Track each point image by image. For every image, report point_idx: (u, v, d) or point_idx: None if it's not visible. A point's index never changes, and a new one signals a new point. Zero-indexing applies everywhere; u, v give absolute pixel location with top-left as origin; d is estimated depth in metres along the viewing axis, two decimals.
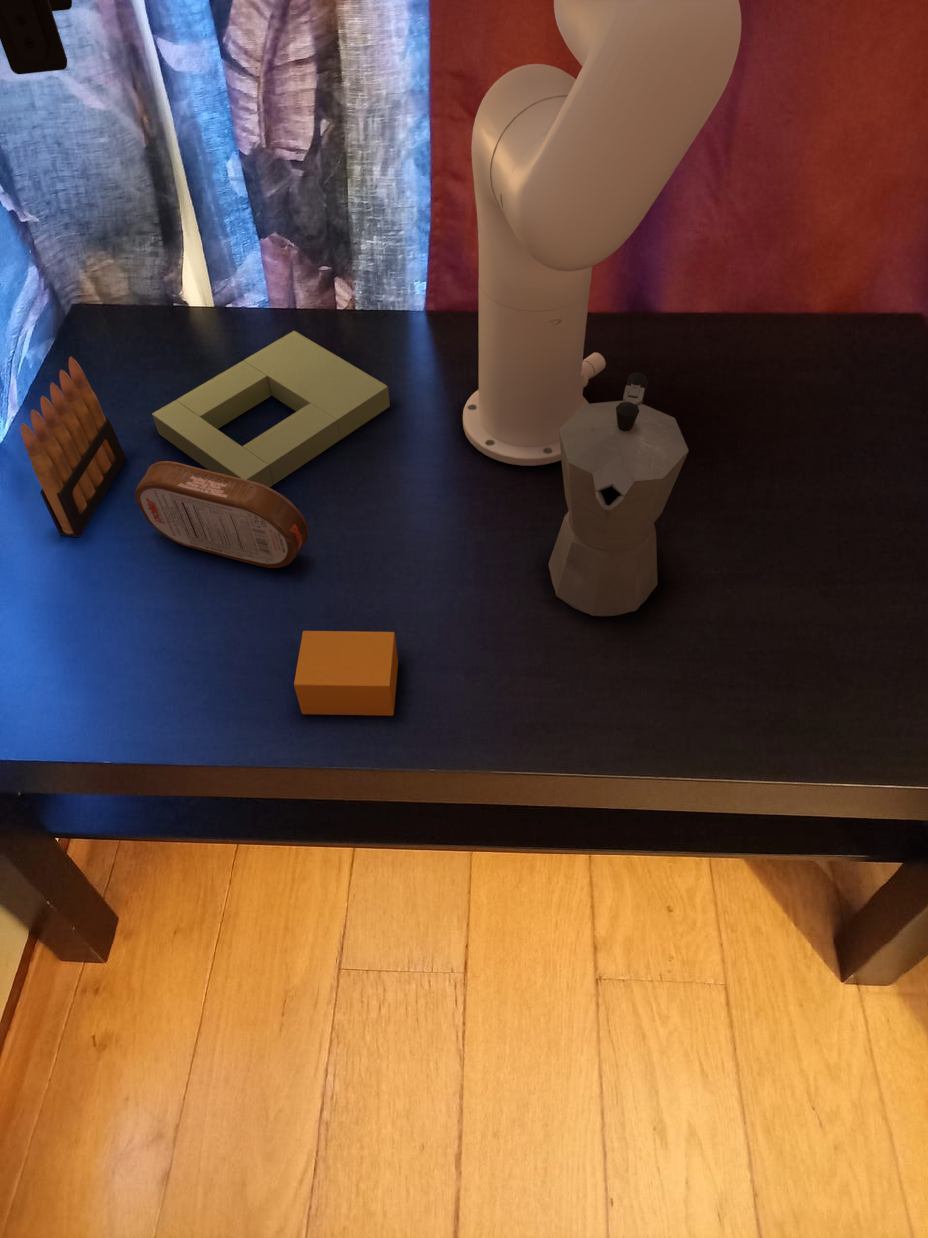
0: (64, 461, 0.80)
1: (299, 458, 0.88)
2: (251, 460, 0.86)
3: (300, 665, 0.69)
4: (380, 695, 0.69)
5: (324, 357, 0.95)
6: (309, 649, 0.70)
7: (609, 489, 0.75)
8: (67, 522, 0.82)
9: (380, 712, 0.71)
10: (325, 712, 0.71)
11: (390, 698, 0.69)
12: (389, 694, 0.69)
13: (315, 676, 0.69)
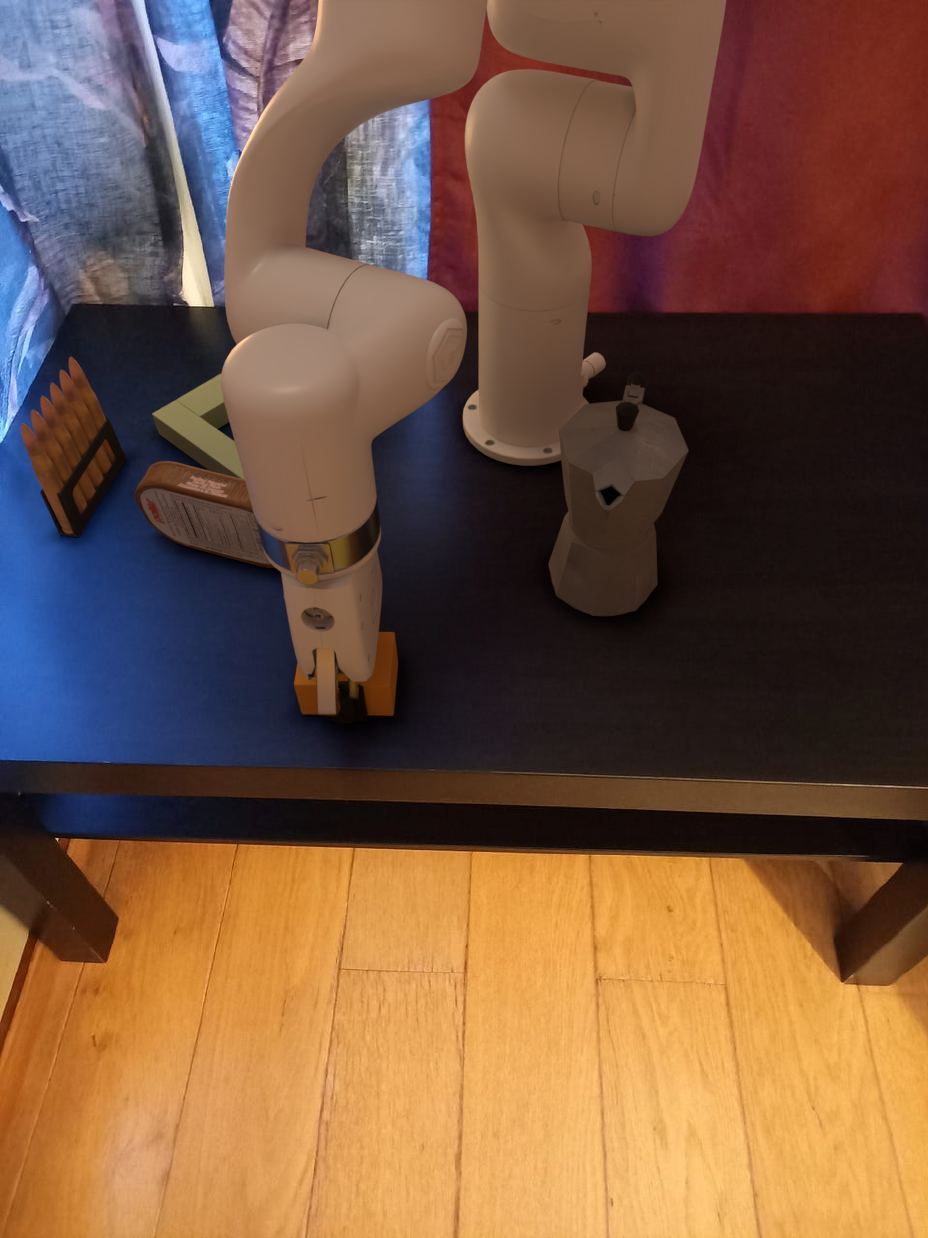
0: (64, 461, 0.80)
1: None
2: None
3: None
4: (380, 696, 0.69)
5: None
6: None
7: (609, 489, 0.75)
8: (67, 522, 0.82)
9: (380, 712, 0.71)
10: None
11: (390, 698, 0.69)
12: (389, 694, 0.69)
13: (315, 676, 0.69)
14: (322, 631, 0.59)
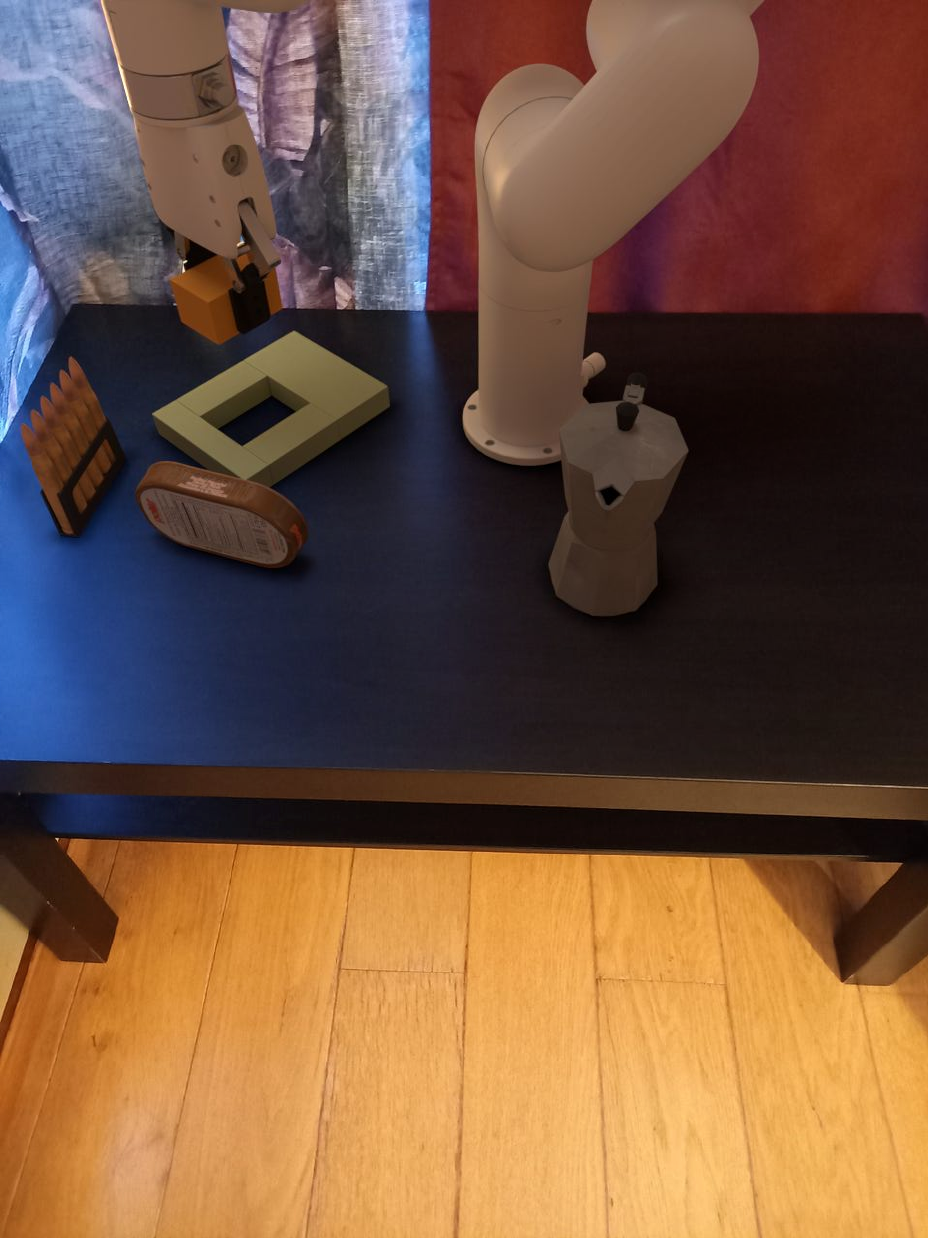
0: (64, 461, 0.80)
1: (299, 458, 0.88)
2: (251, 460, 0.86)
3: (197, 292, 0.75)
4: (271, 283, 0.78)
5: (324, 357, 0.95)
6: (190, 283, 0.76)
7: (609, 489, 0.75)
8: (67, 522, 0.82)
9: (273, 309, 0.79)
10: (235, 331, 0.78)
11: (277, 284, 0.78)
12: (276, 278, 0.78)
13: (217, 290, 0.75)
14: (241, 175, 0.67)
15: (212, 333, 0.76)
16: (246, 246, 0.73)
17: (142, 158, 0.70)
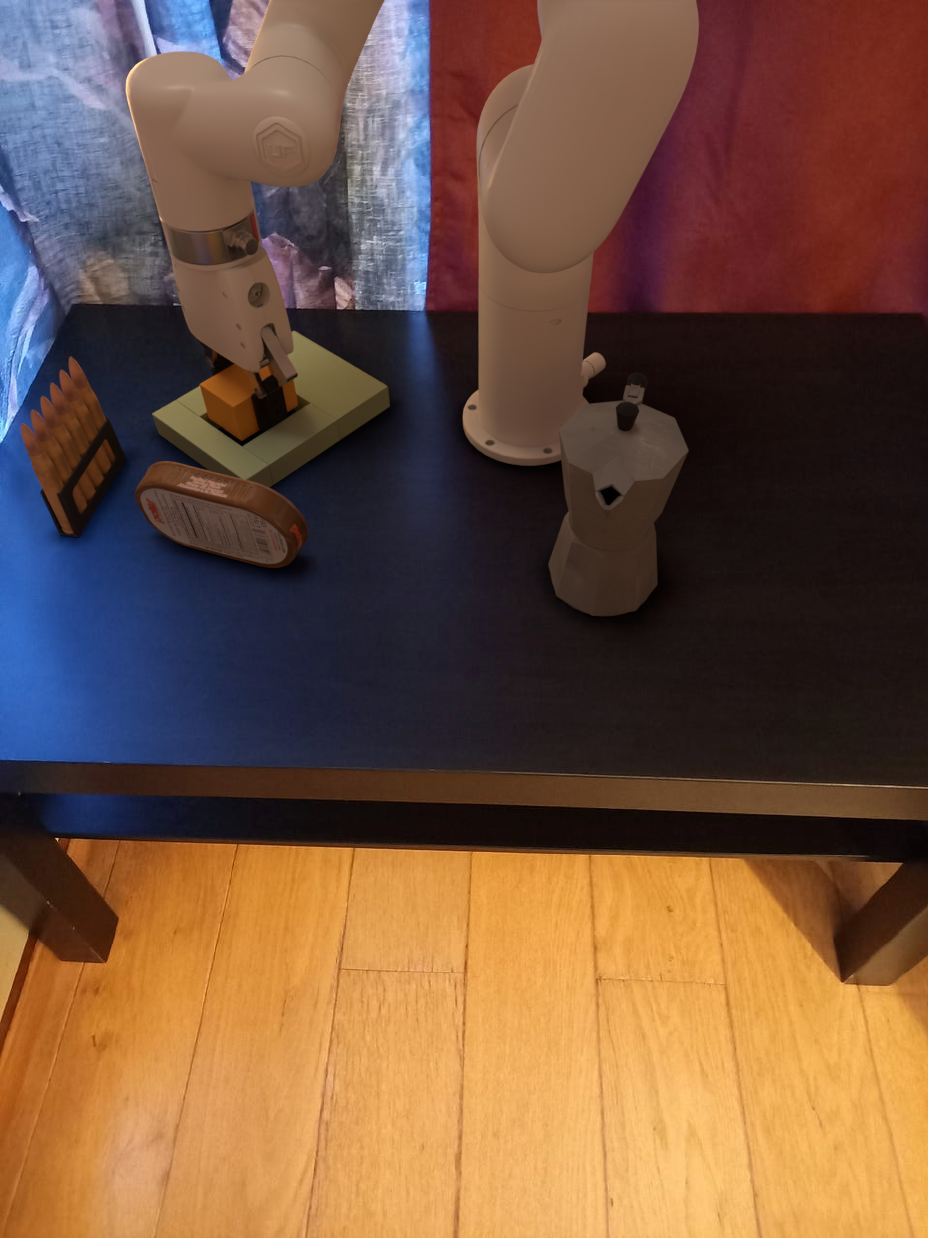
0: (64, 461, 0.80)
1: (299, 458, 0.88)
2: (251, 460, 0.86)
3: (223, 397, 0.85)
4: (288, 386, 0.88)
5: (324, 357, 0.95)
6: (217, 388, 0.86)
7: (609, 489, 0.75)
8: (67, 522, 0.82)
9: (290, 407, 0.90)
10: (256, 428, 0.88)
11: (294, 386, 0.89)
12: (293, 381, 0.88)
13: (241, 395, 0.85)
14: (263, 306, 0.78)
15: (236, 431, 0.87)
16: (267, 359, 0.83)
17: (177, 286, 0.81)
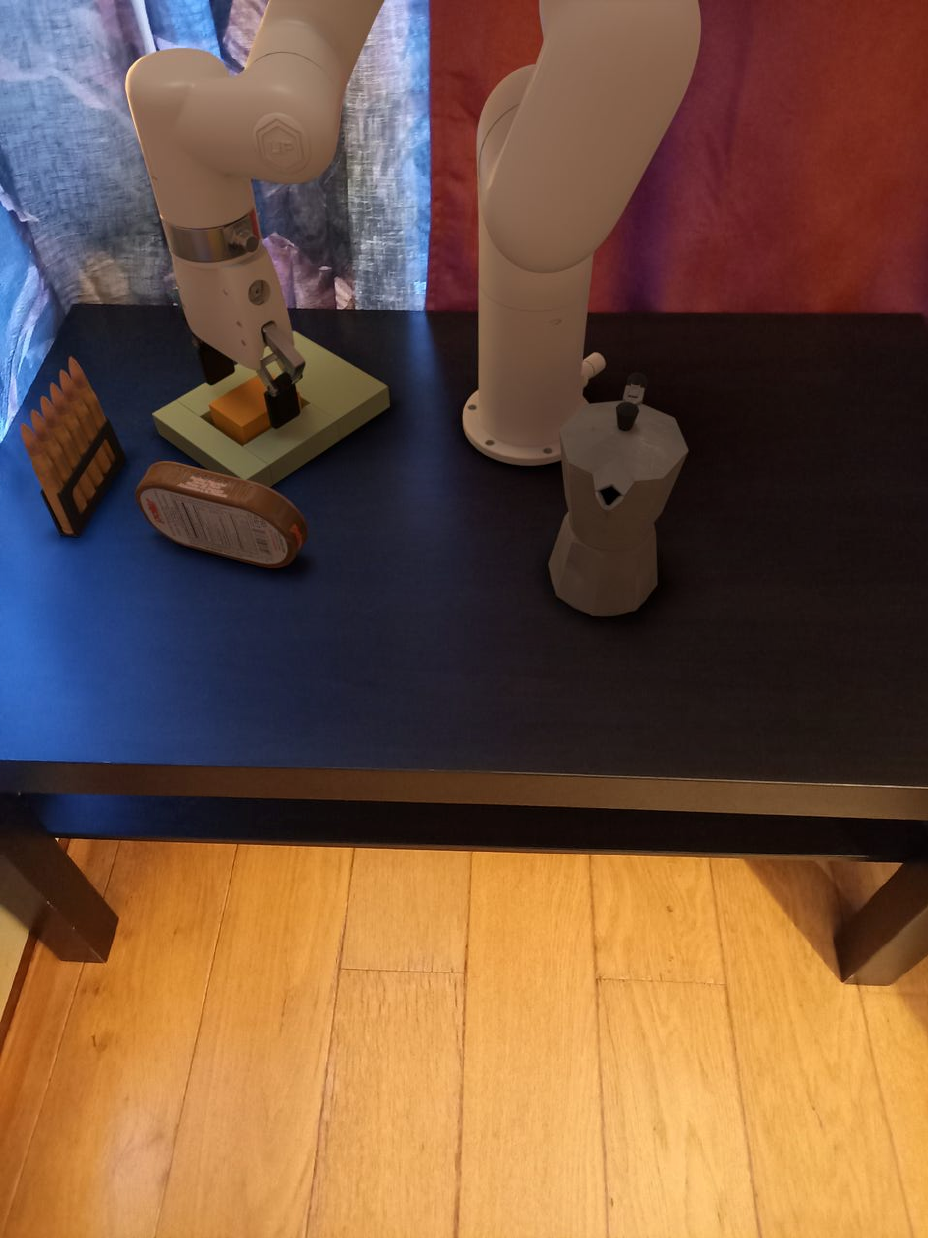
0: (64, 461, 0.80)
1: (299, 458, 0.88)
2: (251, 460, 0.86)
3: (232, 417, 0.87)
4: None
5: (324, 357, 0.95)
6: (226, 408, 0.88)
7: (609, 489, 0.75)
8: (67, 522, 0.82)
9: None
10: None
11: (301, 405, 0.91)
12: (300, 400, 0.90)
13: (249, 415, 0.87)
14: (264, 303, 0.78)
15: None
16: (273, 354, 0.82)
17: (178, 283, 0.81)
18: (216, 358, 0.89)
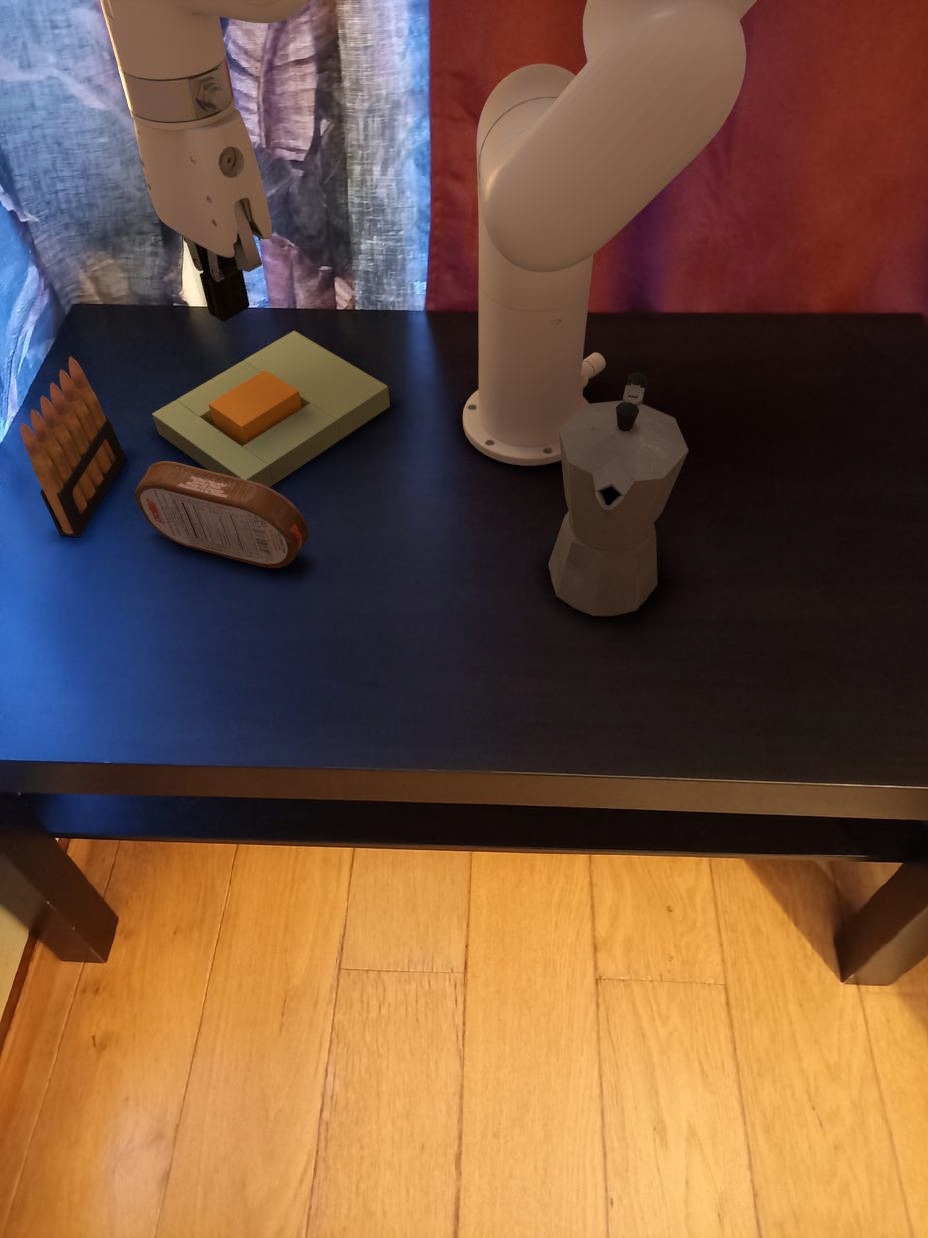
0: (64, 461, 0.80)
1: (299, 458, 0.88)
2: (251, 460, 0.86)
3: (232, 417, 0.87)
4: (295, 405, 0.90)
5: (324, 357, 0.95)
6: (226, 408, 0.88)
7: (609, 489, 0.75)
8: (67, 522, 0.82)
9: None
10: None
11: (301, 405, 0.91)
12: (300, 400, 0.90)
13: (249, 415, 0.87)
14: (237, 176, 0.69)
15: None
16: (233, 243, 0.76)
17: (142, 159, 0.73)
18: None
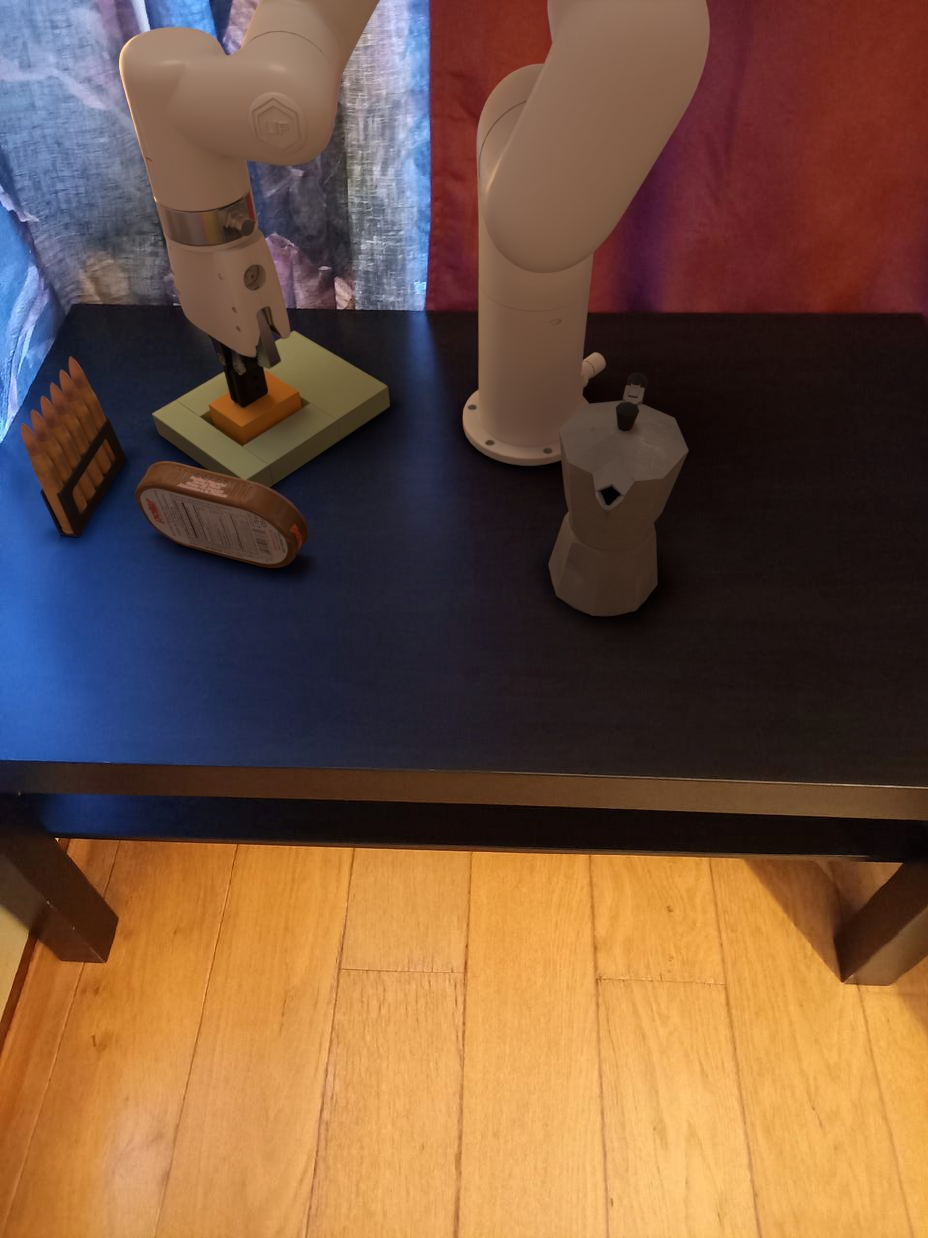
0: (64, 461, 0.80)
1: (299, 458, 0.88)
2: (251, 460, 0.86)
3: (232, 417, 0.87)
4: (295, 405, 0.90)
5: (324, 357, 0.95)
6: (226, 408, 0.88)
7: (609, 489, 0.75)
8: (67, 522, 0.82)
9: None
10: None
11: (301, 405, 0.91)
12: (300, 400, 0.90)
13: (249, 415, 0.87)
14: (259, 289, 0.76)
15: None
16: None
17: (172, 269, 0.80)
18: None
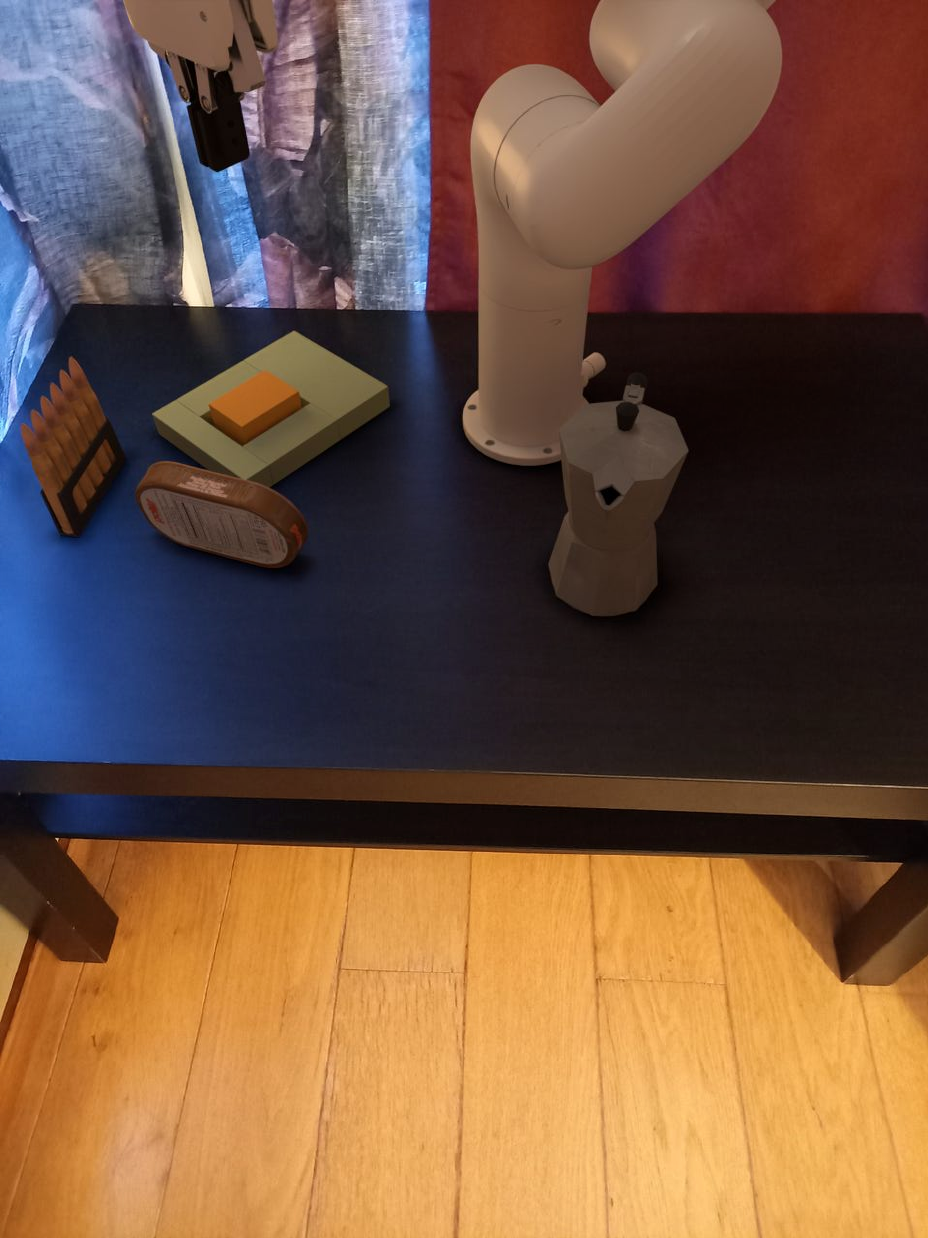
0: (64, 461, 0.80)
1: (299, 458, 0.88)
2: (251, 460, 0.86)
3: (232, 417, 0.87)
4: (295, 405, 0.90)
5: (324, 357, 0.95)
6: (226, 408, 0.88)
7: (609, 489, 0.75)
8: (67, 522, 0.82)
9: None
10: None
11: (301, 405, 0.91)
12: (300, 400, 0.90)
13: (249, 415, 0.87)
14: None
15: None
16: None
17: None
18: None
